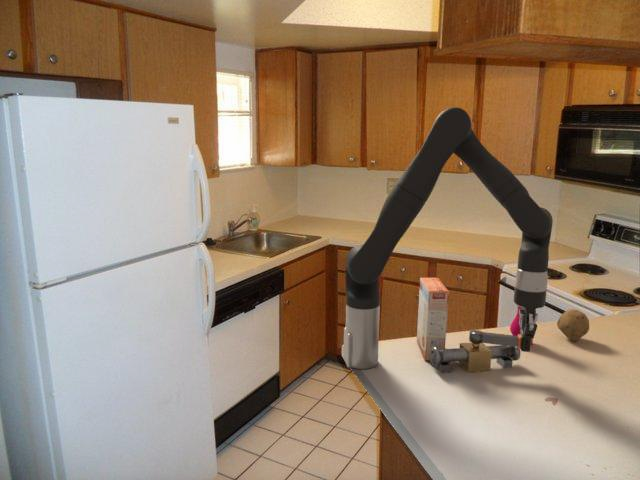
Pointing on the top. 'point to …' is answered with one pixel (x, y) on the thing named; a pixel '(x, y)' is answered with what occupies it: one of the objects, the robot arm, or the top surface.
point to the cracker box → (432, 315)
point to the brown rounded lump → (573, 324)
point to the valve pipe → (474, 357)
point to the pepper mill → (516, 325)
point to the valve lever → (495, 338)
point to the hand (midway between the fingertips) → (524, 350)
